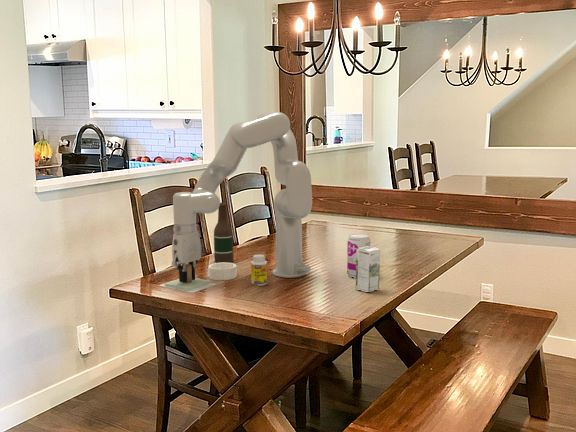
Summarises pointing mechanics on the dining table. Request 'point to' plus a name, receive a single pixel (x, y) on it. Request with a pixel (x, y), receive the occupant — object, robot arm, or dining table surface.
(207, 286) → the mat
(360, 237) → the supplement can
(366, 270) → the syrup box
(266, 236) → the dining table surface
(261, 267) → the supplement bottle
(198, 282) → the lid
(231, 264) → the bowl
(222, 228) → the beer bottle
